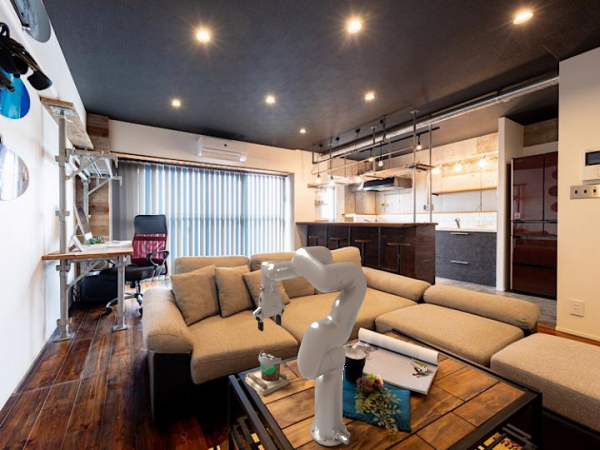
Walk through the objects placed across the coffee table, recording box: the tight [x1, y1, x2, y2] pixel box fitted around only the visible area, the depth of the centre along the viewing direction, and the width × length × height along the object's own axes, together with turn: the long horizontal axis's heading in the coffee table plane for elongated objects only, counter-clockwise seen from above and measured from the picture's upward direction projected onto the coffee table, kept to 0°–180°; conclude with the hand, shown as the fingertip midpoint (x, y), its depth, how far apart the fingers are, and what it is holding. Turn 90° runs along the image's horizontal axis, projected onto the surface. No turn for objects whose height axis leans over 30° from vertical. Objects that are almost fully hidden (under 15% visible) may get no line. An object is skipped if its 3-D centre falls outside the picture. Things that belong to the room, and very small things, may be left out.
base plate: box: [244, 370, 290, 397], centre depth 124 cm, size 14×14×4 cm
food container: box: [258, 349, 282, 381], centre depth 123 cm, size 12×6×10 cm, turn 47°
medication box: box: [412, 358, 428, 368], centre depth 135 cm, size 12×3×4 cm, turn 34°
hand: (269, 327), depth 123 cm, fingers open, 9 cm apart
